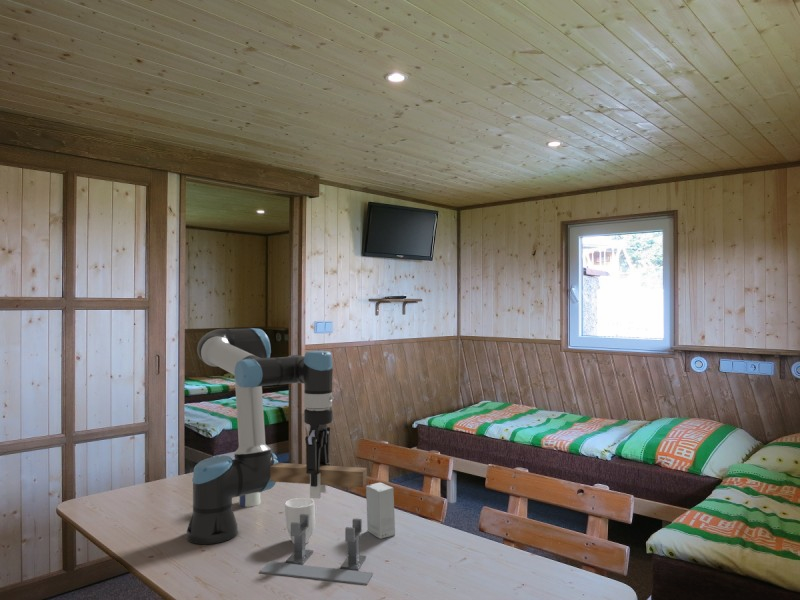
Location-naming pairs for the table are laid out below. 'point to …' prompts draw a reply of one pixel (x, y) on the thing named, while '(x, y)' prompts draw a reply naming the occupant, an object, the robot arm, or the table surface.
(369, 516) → the skincare box
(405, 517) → the table surface
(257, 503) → the water bottle
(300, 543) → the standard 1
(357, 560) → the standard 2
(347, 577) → the mat
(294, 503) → the mug
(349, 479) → the rail
